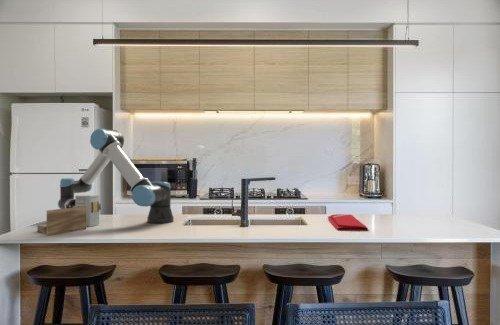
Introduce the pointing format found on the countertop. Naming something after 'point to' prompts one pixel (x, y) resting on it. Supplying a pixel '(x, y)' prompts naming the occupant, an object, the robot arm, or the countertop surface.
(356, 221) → the dish drying mat
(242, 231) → the countertop surface
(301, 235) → the countertop surface
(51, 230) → the box
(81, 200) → the supplement box
